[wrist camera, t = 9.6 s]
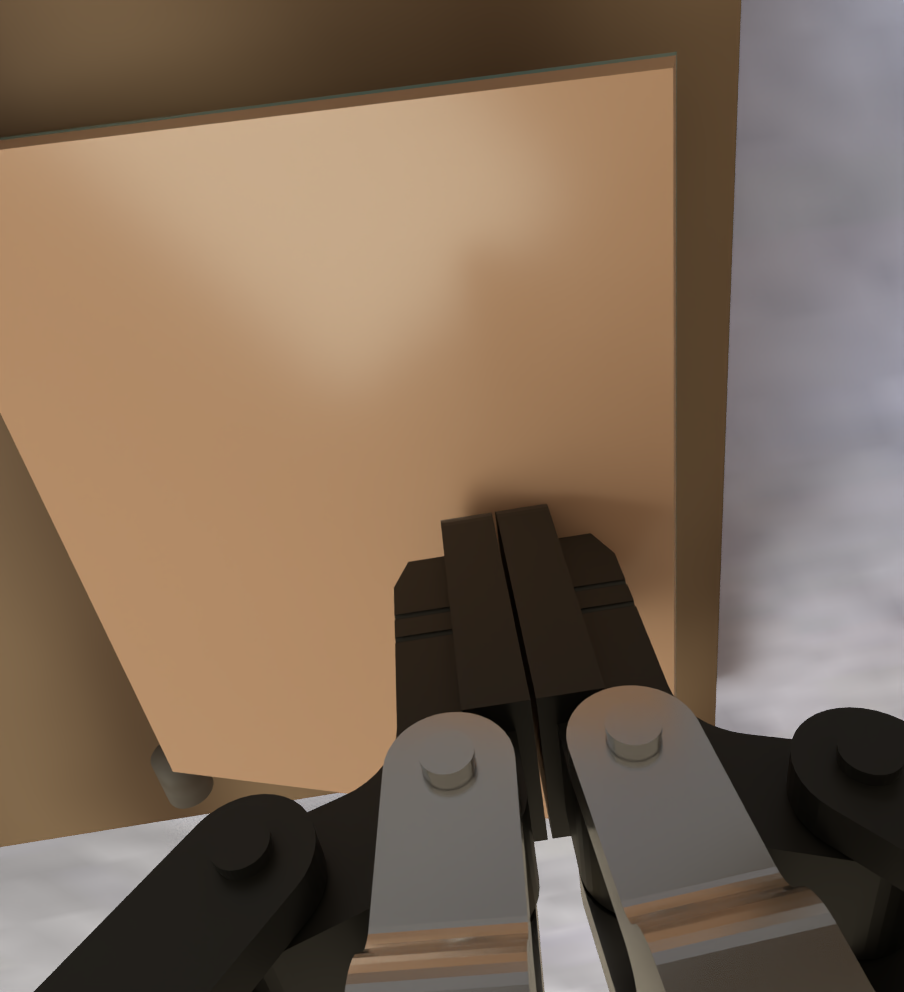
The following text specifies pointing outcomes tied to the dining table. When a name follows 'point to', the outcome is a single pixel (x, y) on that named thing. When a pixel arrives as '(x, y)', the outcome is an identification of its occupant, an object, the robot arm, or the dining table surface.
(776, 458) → the dining table surface
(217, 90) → the board
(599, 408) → the tile
